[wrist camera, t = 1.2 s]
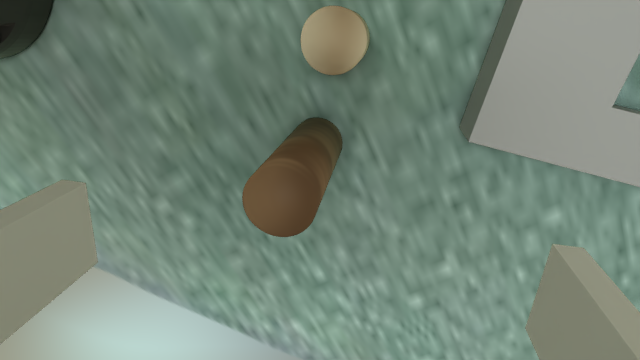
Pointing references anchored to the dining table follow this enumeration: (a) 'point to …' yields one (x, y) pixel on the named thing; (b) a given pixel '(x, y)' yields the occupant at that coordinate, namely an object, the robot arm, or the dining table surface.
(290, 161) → the long pin
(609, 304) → the robot arm
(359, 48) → the short pin
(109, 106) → the dining table surface
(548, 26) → the hole board
